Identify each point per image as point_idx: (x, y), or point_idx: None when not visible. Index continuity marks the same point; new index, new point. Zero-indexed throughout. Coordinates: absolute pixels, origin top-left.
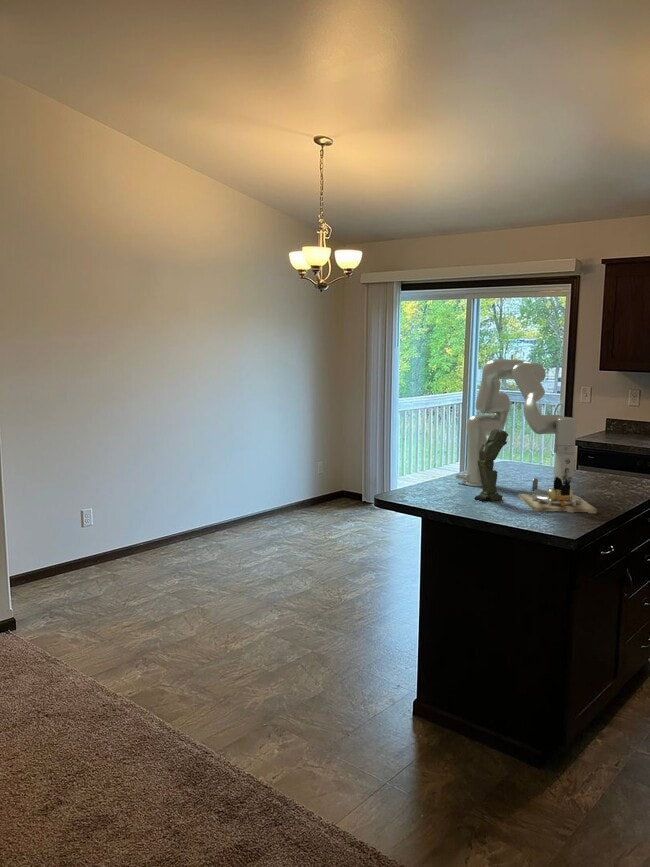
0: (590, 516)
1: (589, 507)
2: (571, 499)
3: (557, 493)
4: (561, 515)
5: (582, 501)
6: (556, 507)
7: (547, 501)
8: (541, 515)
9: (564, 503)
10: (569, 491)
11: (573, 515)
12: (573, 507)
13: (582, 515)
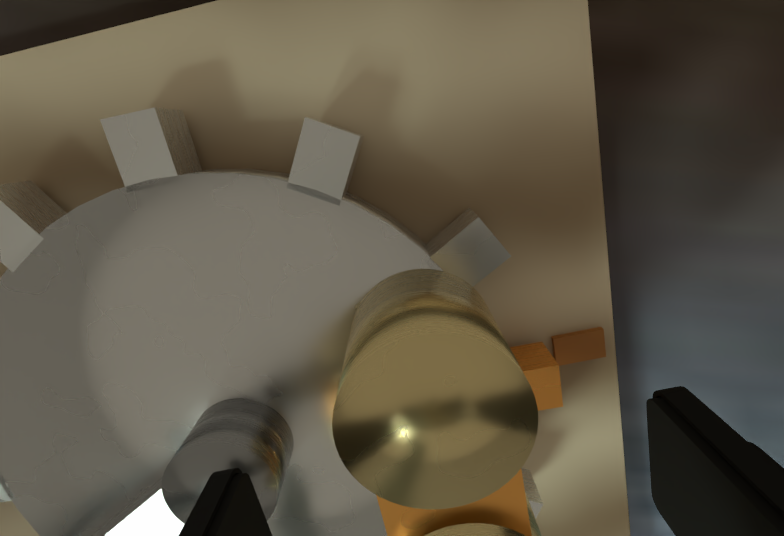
0: (750, 47)
1: (477, 19)
2: (471, 290)
3: (540, 533)
4: (744, 359)
5: (105, 83)
6: (592, 419)
7: None
8: None
9: (553, 362)
10: (728, 433)
11: (726, 243)
12: (543, 241)
13: (711, 143)
